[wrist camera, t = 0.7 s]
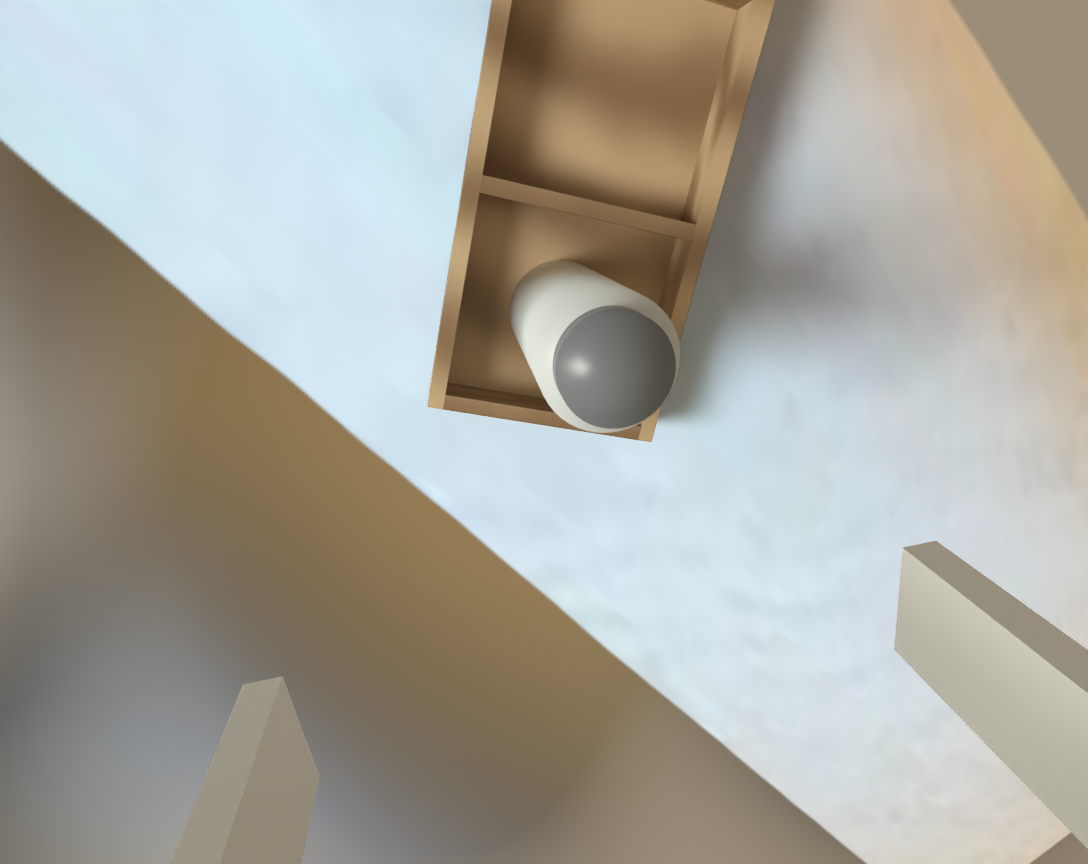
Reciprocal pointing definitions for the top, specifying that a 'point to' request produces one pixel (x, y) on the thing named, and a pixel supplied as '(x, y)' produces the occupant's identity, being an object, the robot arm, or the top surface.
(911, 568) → the robot arm
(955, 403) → the top surface
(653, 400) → the white and grey cylinder
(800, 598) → the top surface
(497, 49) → the caddy
